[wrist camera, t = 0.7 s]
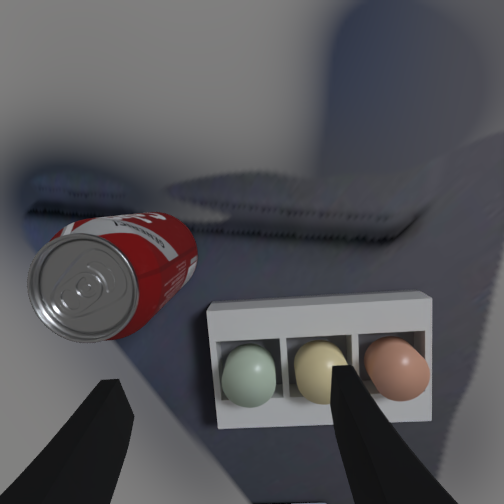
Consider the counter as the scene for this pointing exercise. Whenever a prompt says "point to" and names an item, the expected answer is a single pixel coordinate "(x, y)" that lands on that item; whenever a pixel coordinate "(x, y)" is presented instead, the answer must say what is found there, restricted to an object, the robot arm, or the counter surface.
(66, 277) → the soda can
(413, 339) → the console
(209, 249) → the counter surface
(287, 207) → the counter surface
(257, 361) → the sage button
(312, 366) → the mustard button
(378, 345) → the terracotta button
